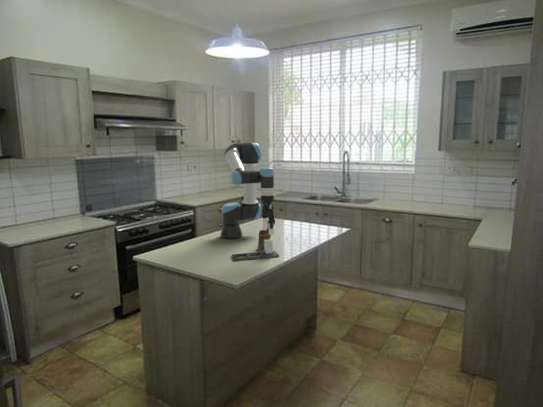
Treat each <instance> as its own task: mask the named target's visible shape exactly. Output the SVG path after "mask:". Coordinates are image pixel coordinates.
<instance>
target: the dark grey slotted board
mask: <svg viewBox="0 0 543 407" xmlns="http://www.w3.org/2000/svg"><path fill="white" fill-rule="evenodd" d="M279 257H280V254H279V253H278V252H277V251H276V250H273V255H265V254H264V251H257V252H245V253H244V252H243V253H235V254H234V253H233V254H231V258H232V260H233V261H234V262H239V261H240V262H241V261H250V260H259V259H271V258H272V259H273V258H279Z"/></svg>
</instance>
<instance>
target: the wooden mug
mask: <svg viewBox="0 0 543 407" xmlns="http://www.w3.org/2000/svg"><path fill="white" fill-rule="evenodd" d="M274 221H275V222H274V223H273V224H274V225H275V224H276V219H275V218H274ZM268 222H269V220H268ZM271 237H272V234H269V226H268V229H262V230H259V232H258V242H257V248H256V249H257V250H259V251H264V240H269V239H271Z"/></svg>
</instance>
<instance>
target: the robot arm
mask: <svg viewBox="0 0 543 407" xmlns="http://www.w3.org/2000/svg"><path fill="white" fill-rule="evenodd" d="M224 158H225V161H226V162H227V163H228V164H229V167H230V170H231V174H230V180H231V183H232V184H233V185H243V200H242V201H241V204H240V203H239V202H236V201H235V202H230V203H229V202H228V203H225V204H223V205H222V207H221V213H222V215H221V216H222V227H221V230H220V238H221V239H225V240H235V239H236V240H237V239H240V238H242V237H243V231H242V229H241V226H240V222H246V221H248V222H249V221H252V222H253V221H257V220H259V219H260V218H261V217H262V230H266V229H268V226H269V234H271V235H274V233H275V232H274V231H275V228H274V226H275V224H273V223H274V222H275V223H276V220H275V221H274V219H275V216H274V208H273V206H274V205H273V204H272V203H274V202H275V186H274V184H275V183H274V182H275V180H274V178H275V176H274V173H275V172H274V168H273V167H261V168H260V169H258V170H257V166H258V164H259V161H260V160H261V159H262V150H261V148H260V145H259V143H257V142H234V143H231V144H230V145H229V146H227V147H226V149H225V151H224ZM257 184H260V189H259V192H260V201H261V203H262V204H261V203H259V200H258V199H257ZM268 220H269V222H268Z"/></svg>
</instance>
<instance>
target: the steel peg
mask: <svg viewBox="0 0 543 407" xmlns="http://www.w3.org/2000/svg"><path fill="white" fill-rule="evenodd" d="M273 246H274V245H273V240H272V239H271V238H270V239H269V240H264V250H263V252H264V254H265V255H273V251H274V249H273V248H274V247H273Z"/></svg>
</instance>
